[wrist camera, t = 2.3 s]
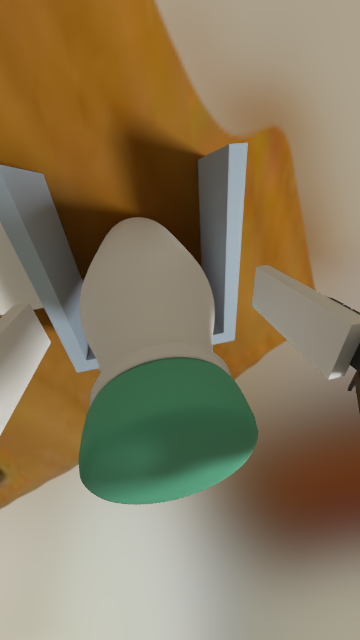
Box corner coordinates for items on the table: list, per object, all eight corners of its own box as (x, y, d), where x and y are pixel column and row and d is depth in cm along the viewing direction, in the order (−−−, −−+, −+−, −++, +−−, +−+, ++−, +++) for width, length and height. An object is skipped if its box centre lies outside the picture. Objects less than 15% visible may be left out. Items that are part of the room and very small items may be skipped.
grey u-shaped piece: (89, 330, 25) (77, 372, 19) (27, 175, 17) (-29, 165, 11) (211, 307, 27) (234, 340, 21) (210, 158, 19) (247, 142, 13)
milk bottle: (89, 226, 19) (-167, 439, 3) (168, 207, 20) (368, 287, 3) (118, 298, 24) (88, 555, 7) (183, 281, 24) (301, 481, 7)
